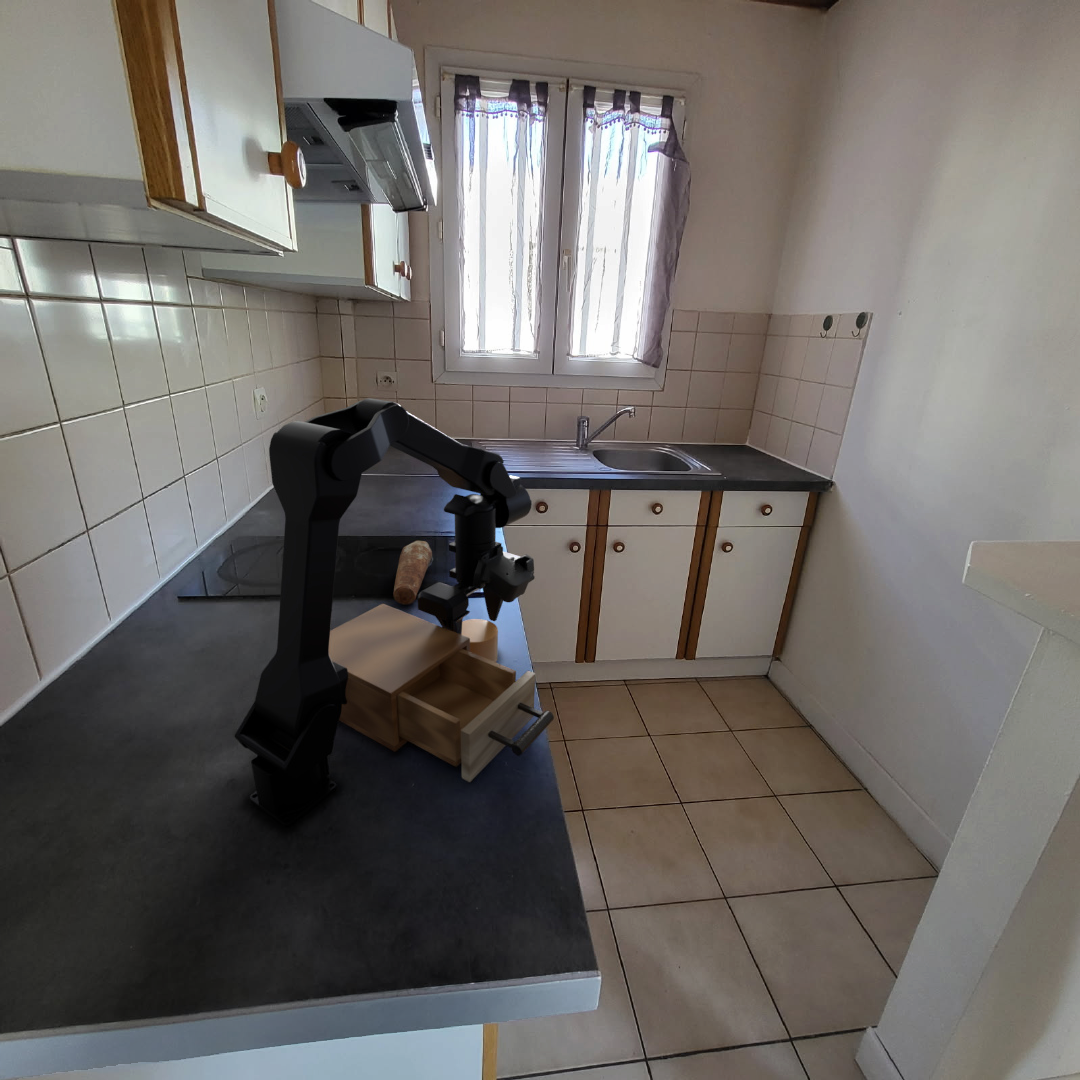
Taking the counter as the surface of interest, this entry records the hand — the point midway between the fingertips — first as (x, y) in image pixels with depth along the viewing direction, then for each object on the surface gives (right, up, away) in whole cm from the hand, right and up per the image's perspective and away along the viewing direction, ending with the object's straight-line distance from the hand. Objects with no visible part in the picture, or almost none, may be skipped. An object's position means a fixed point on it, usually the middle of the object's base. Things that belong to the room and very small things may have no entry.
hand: (475, 632), depth 85 cm
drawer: (+1, -10, -14) cm, 18 cm away
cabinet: (-11, -7, -8) cm, 15 cm away
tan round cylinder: (0, -4, +2) cm, 5 cm away
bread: (-15, +5, +24) cm, 29 cm away
